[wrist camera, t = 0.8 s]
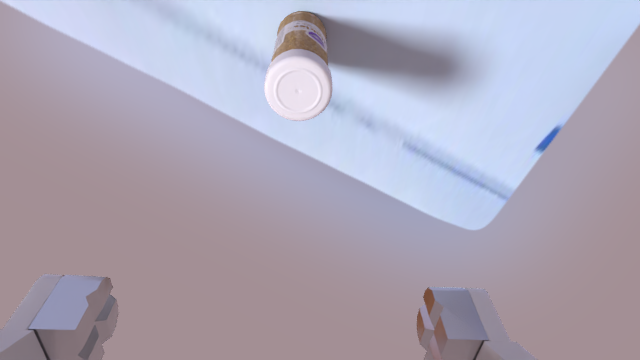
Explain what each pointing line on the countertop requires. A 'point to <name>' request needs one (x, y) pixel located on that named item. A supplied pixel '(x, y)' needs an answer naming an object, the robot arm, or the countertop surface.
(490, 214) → the countertop surface
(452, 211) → the countertop surface
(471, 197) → the countertop surface
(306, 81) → the sprinkles bottle
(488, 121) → the countertop surface
